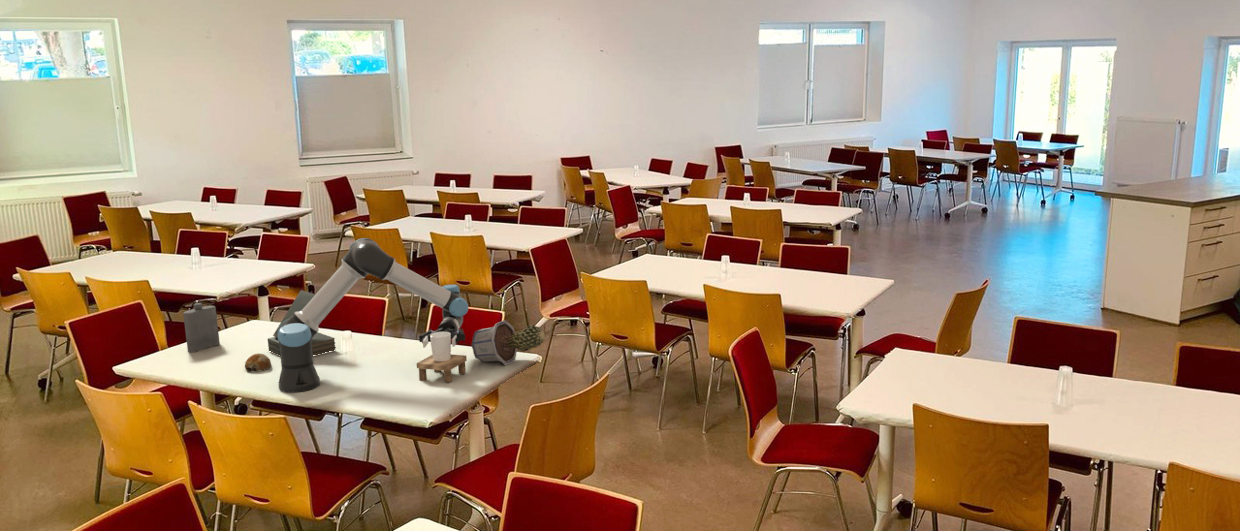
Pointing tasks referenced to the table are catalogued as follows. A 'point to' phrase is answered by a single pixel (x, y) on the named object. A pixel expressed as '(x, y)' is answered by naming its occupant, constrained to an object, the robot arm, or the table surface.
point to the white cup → (441, 346)
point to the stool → (442, 366)
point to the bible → (319, 340)
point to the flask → (201, 327)
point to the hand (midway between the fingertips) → (438, 343)
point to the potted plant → (504, 342)
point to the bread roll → (257, 362)
